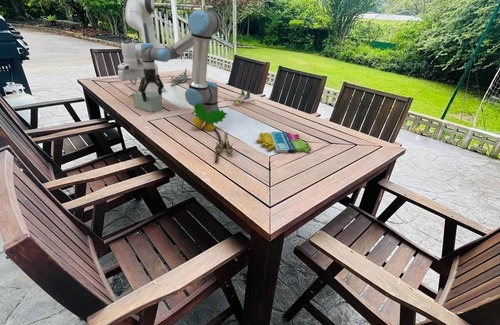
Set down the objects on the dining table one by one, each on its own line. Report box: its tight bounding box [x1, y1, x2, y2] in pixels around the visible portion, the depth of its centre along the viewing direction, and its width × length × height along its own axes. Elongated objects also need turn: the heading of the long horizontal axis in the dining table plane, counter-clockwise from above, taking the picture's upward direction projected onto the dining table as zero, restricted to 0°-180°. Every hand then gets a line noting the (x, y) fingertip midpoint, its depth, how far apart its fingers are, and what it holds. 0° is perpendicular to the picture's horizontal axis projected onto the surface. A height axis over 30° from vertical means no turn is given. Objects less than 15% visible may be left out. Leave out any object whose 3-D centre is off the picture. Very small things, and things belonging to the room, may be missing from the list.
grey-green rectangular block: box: [132, 91, 164, 113], centre depth 189 cm, size 17×10×10 cm, turn 58°
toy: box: [223, 89, 257, 106], centre depth 219 cm, size 28×7×30 cm
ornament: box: [191, 102, 228, 132], centre depth 162 cm, size 21×8×15 cm, turn 105°
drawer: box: [129, 93, 135, 106], centre depth 192 cm, size 22×9×8 cm, turn 58°
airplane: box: [168, 68, 192, 87], centre depth 266 cm, size 38×31×10 cm
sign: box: [256, 131, 312, 154], centre depth 152 cm, size 26×2×30 cm
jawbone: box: [214, 131, 234, 156], centre depth 136 cm, size 9×15×10 cm
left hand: (134, 85), depth 191 cm, fingers closed
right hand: (152, 99), depth 186 cm, fingers open, 13 cm apart
